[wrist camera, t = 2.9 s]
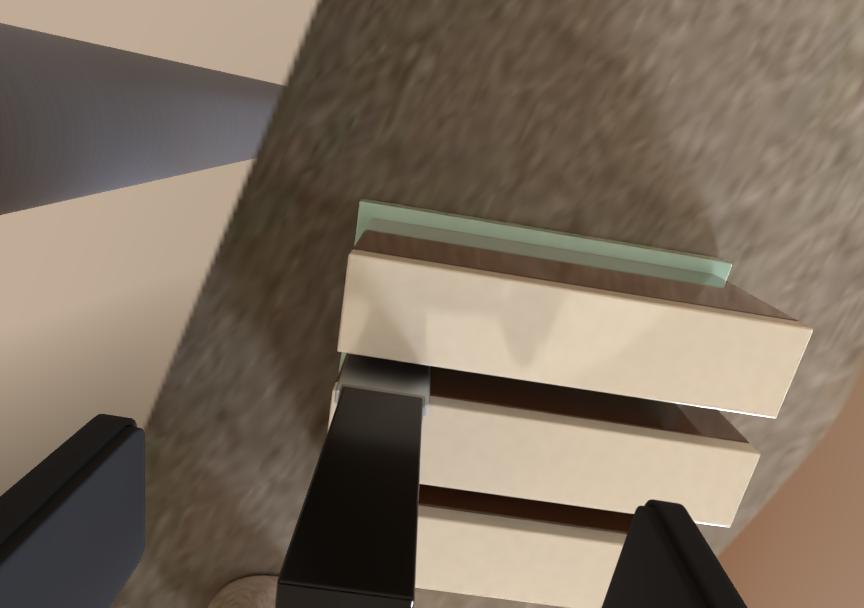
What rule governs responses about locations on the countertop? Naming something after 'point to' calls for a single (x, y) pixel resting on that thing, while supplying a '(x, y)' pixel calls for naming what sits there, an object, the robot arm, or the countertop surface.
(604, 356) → the slatted panel
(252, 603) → the beer glass
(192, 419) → the countertop surface
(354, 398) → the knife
